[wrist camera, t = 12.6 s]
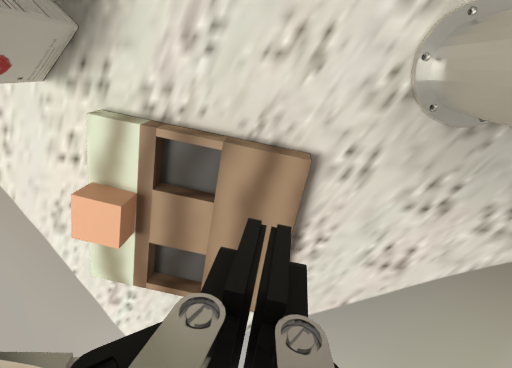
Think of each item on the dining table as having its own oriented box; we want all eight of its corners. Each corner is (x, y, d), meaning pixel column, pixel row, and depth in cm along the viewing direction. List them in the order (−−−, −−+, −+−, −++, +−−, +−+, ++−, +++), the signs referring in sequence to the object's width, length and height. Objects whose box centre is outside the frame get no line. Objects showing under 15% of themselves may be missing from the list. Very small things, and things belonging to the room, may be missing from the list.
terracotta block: (137, 193, 39) (121, 206, 35) (133, 232, 41) (118, 249, 37) (91, 182, 39) (71, 194, 35) (91, 222, 41) (71, 237, 37)
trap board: (309, 153, 38) (311, 160, 35) (270, 300, 47) (269, 315, 44) (100, 109, 38) (86, 113, 36) (101, 263, 47) (90, 275, 45)
